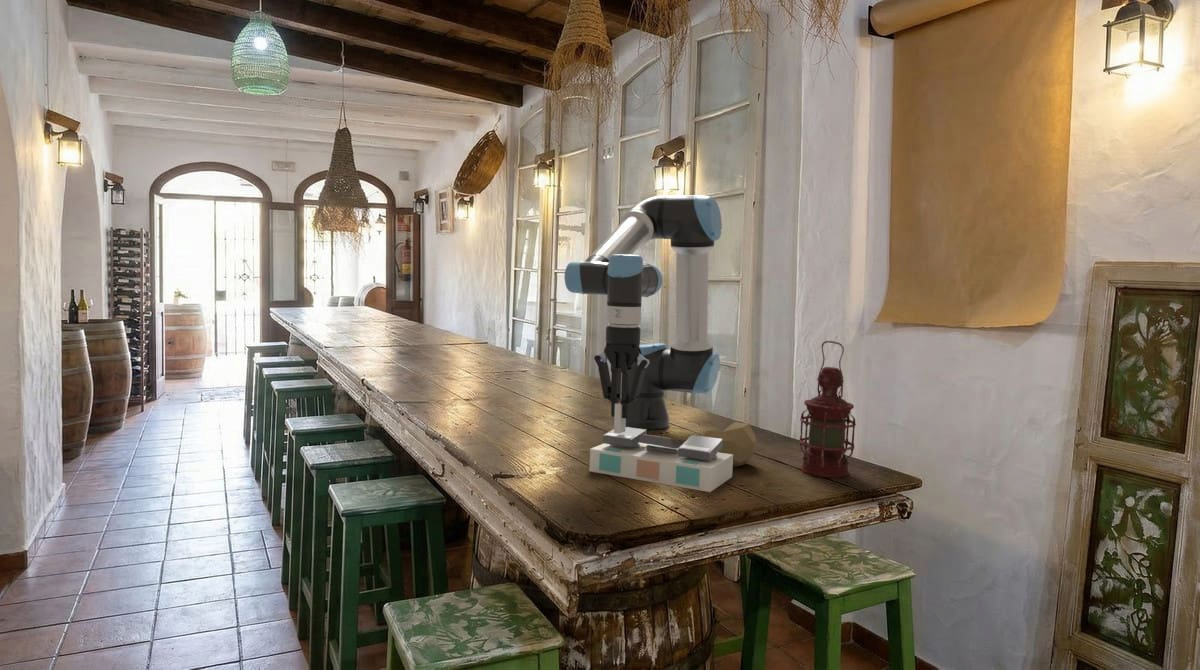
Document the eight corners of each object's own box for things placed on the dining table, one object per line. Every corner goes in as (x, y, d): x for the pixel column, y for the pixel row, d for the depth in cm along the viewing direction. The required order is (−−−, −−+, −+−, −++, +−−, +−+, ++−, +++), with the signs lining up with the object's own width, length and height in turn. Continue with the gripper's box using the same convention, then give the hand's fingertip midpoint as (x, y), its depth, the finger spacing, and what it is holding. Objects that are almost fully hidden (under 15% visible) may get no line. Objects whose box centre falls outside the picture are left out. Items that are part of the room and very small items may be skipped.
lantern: (786, 466, 186) (794, 338, 183) (829, 463, 190) (837, 338, 188) (819, 480, 175) (827, 344, 172) (864, 477, 179) (873, 344, 176)
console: (617, 458, 188) (618, 433, 187) (732, 477, 175) (733, 450, 175) (588, 471, 175) (589, 444, 175) (709, 492, 163) (711, 463, 162)
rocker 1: (619, 433, 184) (618, 425, 184) (646, 437, 181) (646, 429, 181) (602, 443, 177) (602, 434, 177) (631, 447, 174) (631, 438, 174)
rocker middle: (653, 444, 180) (655, 436, 180) (682, 449, 177) (684, 440, 177) (639, 442, 173) (640, 433, 173) (669, 447, 169) (670, 437, 170)
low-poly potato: (757, 461, 192) (719, 433, 197) (774, 428, 186) (734, 400, 191) (724, 489, 181) (685, 459, 186) (740, 455, 175) (699, 425, 180)
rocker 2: (692, 442, 176) (692, 434, 175) (722, 446, 173) (722, 438, 172) (678, 456, 169) (678, 447, 169) (709, 460, 166) (709, 452, 165)
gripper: (588, 324, 174) (585, 431, 176) (643, 328, 168) (639, 439, 170) (604, 322, 180) (601, 425, 183) (657, 326, 174) (653, 432, 177)
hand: (619, 431), depth 176 cm, fingers closed
